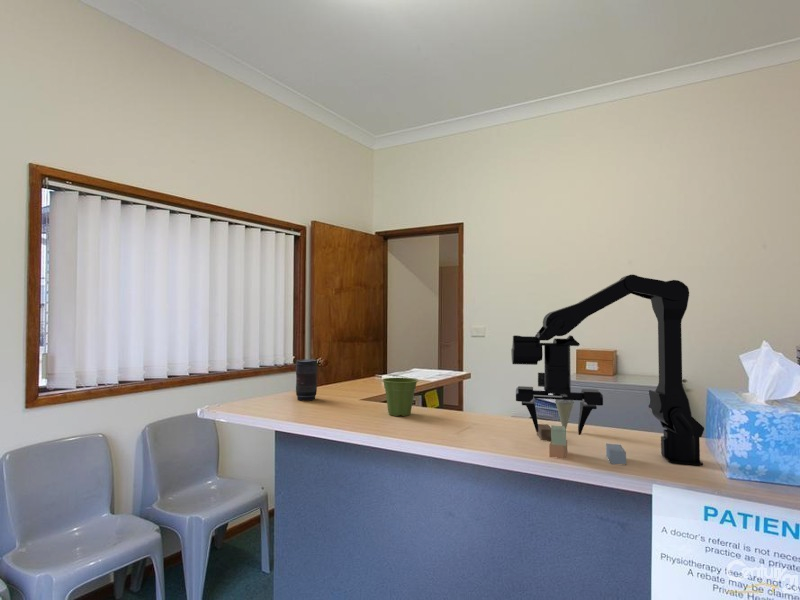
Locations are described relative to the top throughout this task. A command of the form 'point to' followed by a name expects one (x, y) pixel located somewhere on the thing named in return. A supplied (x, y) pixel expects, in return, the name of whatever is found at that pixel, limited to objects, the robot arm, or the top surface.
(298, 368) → the camera lens
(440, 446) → the top surface
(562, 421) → the ice cream cone
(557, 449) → the terracotta brick
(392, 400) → the plant pot
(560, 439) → the green brick
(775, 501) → the top surface
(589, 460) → the top surface
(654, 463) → the top surface
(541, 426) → the walnut brick
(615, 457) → the slate brick
